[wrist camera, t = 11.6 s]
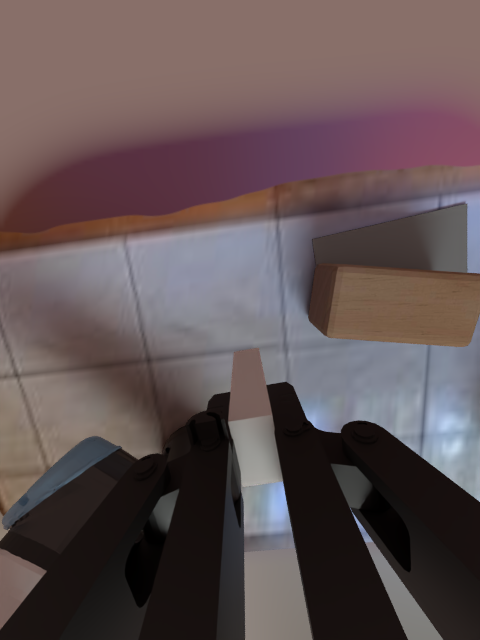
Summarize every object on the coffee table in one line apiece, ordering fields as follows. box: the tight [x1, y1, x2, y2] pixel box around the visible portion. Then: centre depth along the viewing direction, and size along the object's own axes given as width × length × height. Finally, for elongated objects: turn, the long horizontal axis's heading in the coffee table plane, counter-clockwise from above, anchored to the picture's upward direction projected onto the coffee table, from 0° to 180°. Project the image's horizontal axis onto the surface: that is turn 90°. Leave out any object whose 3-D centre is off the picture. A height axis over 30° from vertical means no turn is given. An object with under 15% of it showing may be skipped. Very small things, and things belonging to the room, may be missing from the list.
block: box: [308, 263, 480, 347], centre depth 36 cm, size 10×10×20 cm
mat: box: [312, 204, 467, 273], centre depth 40 cm, size 24×14×1 cm, turn 103°
